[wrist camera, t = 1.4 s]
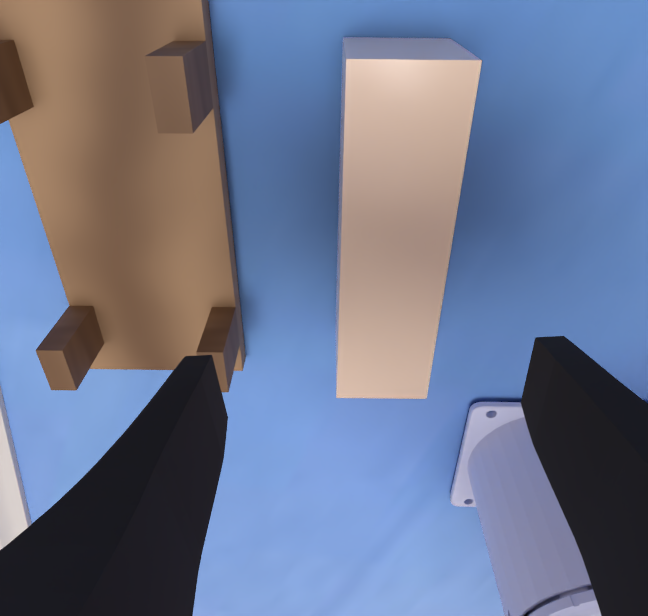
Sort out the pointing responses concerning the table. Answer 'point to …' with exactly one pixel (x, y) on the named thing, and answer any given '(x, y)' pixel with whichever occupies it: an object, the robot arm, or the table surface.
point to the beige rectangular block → (397, 206)
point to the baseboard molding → (10, 486)
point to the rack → (125, 180)
